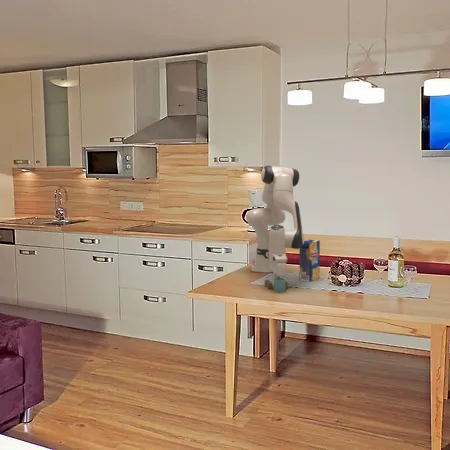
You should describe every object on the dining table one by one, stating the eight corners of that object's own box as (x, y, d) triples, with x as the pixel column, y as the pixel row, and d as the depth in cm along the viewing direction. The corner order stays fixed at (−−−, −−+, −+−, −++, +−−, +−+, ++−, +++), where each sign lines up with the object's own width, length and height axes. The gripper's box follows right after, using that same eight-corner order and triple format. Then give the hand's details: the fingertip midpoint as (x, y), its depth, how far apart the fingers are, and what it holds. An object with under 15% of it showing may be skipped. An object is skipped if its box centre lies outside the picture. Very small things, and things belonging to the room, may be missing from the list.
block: (273, 289, 304) (273, 278, 303) (282, 289, 305) (282, 278, 304) (276, 291, 299) (276, 280, 298) (285, 291, 300) (285, 280, 299)
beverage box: (319, 278, 330) (319, 240, 328) (309, 281, 322) (309, 242, 319) (309, 276, 335) (309, 239, 332) (299, 280, 326) (299, 241, 324)
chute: (264, 286, 313) (264, 279, 312) (283, 285, 314) (282, 278, 314) (268, 289, 304) (268, 283, 303) (287, 288, 306) (287, 282, 305)
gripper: (266, 253, 314) (267, 278, 315) (276, 259, 294) (276, 286, 295) (277, 252, 315) (278, 277, 316) (288, 259, 295) (288, 285, 296)
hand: (277, 281), depth 305 cm, fingers closed
